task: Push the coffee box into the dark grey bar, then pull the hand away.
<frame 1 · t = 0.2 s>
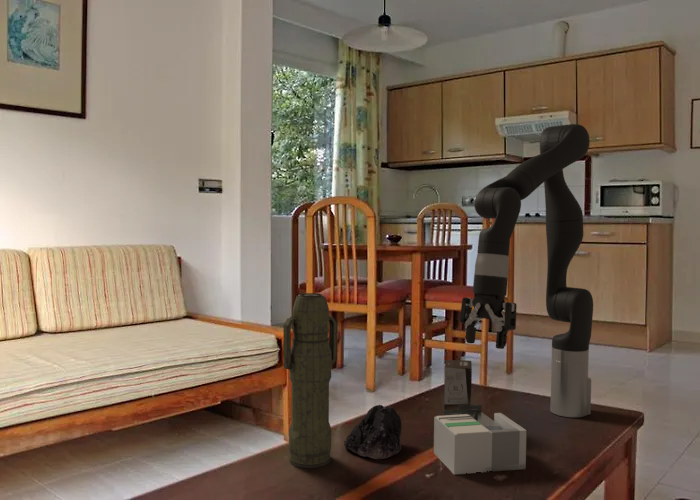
hand: (484, 345, 145), 22 cm above the table, tool pointing down, fingers open, 8 cm apart
coffee box: (457, 430, 155), on the table
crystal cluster: (374, 450, 141), on the table
gauge housing: (492, 459, 135), on the table
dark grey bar: (463, 423, 141), point 6 cm above the table, slide at 0.0 cm
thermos: (310, 460, 134), on the table
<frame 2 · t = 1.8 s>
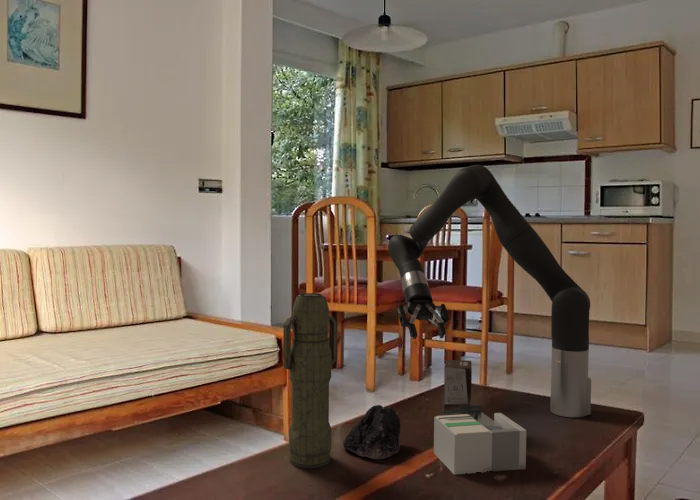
hand: (429, 337, 175), 19 cm above the table, tool tilted 45°, fingers open, 7 cm apart
nothing on the table moved.
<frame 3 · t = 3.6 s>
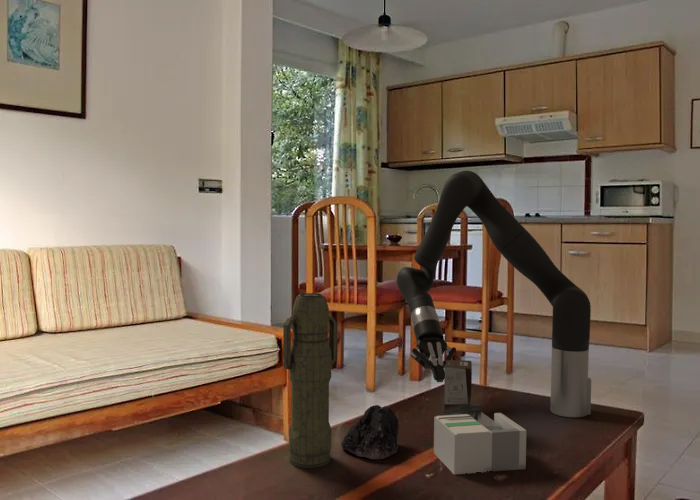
hand: (440, 380, 166), 9 cm above the table, tool tilted 45°, fingers closed
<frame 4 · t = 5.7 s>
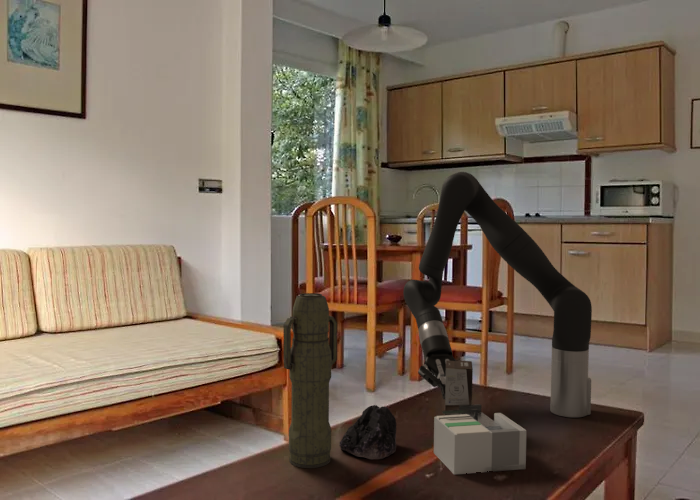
hand: (449, 399, 159), 6 cm above the table, tool tilted 45°, fingers closed
coffee box: (458, 430, 154), on the table, touching gripper
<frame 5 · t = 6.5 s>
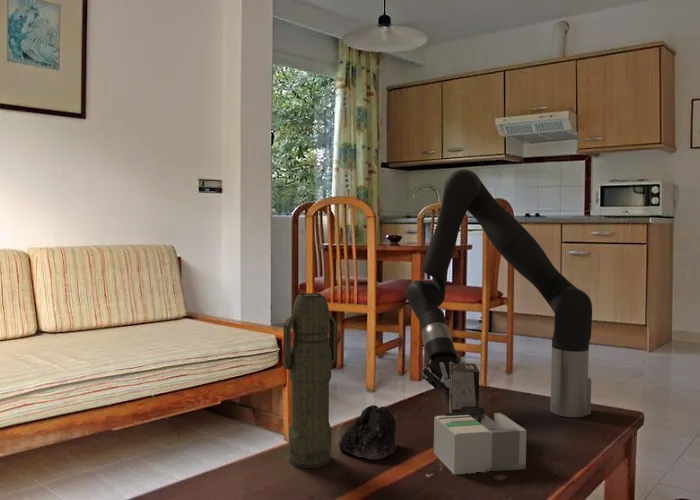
hand: (453, 403, 156), 6 cm above the table, tool tilted 45°, fingers closed
coffee box: (463, 435, 151), on the table, touching gripper
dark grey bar: (466, 426, 140), point 6 cm above the table, slide at 1.7 cm
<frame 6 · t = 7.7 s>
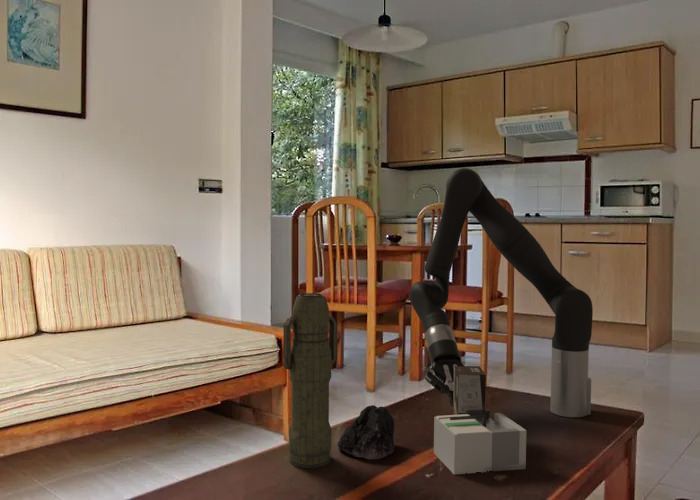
hand: (458, 407, 153), 6 cm above the table, tool tilted 45°, fingers closed
coffee box: (468, 439, 148), on the table, touching gripper, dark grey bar
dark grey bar: (471, 430, 137), point 6 cm above the table, slide at 4.4 cm, touching coffee box
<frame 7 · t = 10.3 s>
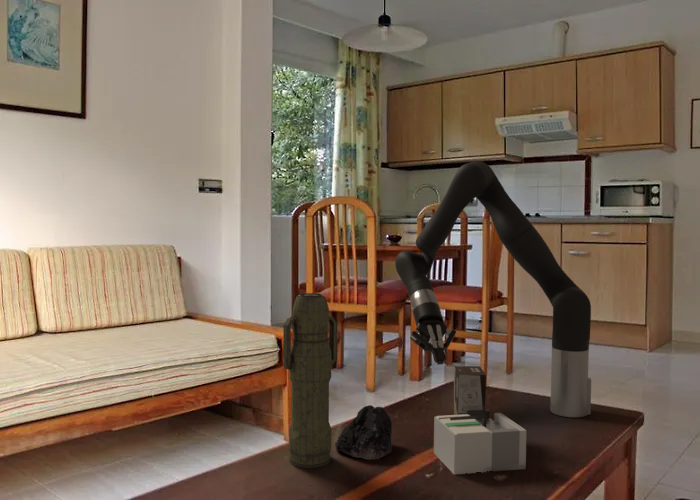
hand: (441, 362, 165), 14 cm above the table, tool tilted 45°, fingers closed
coffee box: (468, 439, 148), on the table
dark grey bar: (471, 430, 137), point 6 cm above the table, slide at 4.5 cm
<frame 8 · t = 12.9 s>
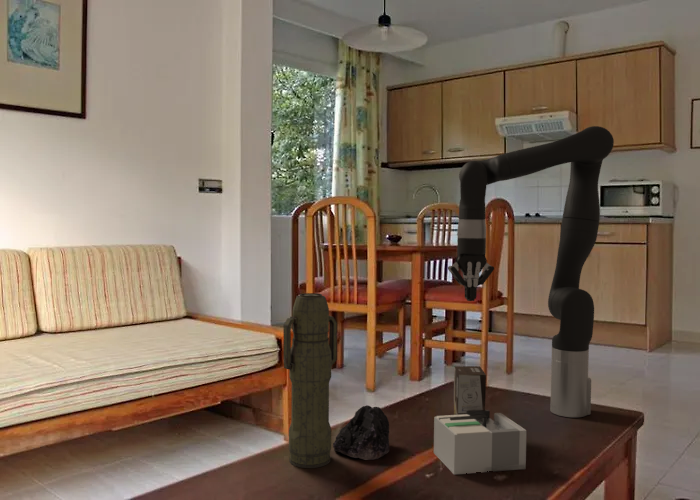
hand: (470, 300, 172), 29 cm above the table, tool pointing down, fingers closed
at the end: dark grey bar slide at 4.5 cm; coffee box tilted 0°; coffee box moved 6.6 cm from its start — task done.
